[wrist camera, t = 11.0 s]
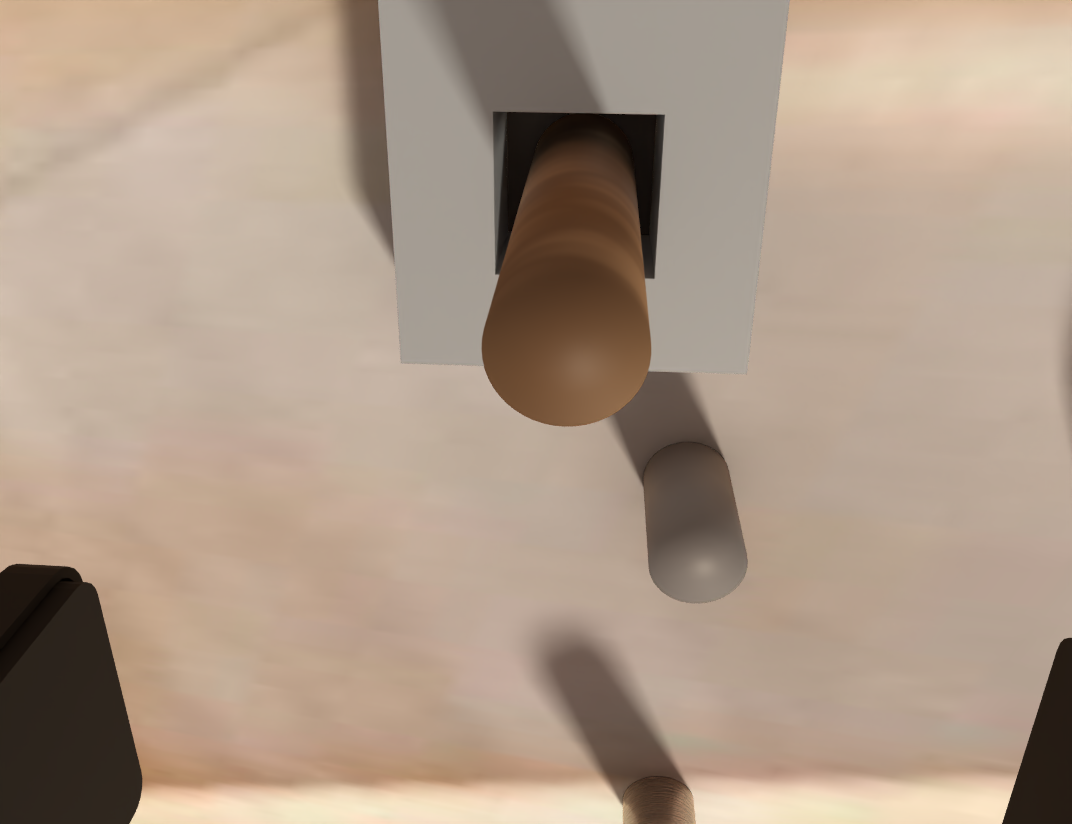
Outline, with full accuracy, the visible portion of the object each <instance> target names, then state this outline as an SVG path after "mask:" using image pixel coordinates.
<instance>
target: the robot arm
mask: <svg viewBox="0 0 1072 824" xmlns="http://www.w3.org/2000/svg"><path fill="white" fill-rule="evenodd" d="M141 791H142V773H141V768H140V764H139V760H138V756H137V752H136V748H135V744H134V740H133V736H132V732H131V728H130V724H129V720H128V715H127V711H126V707H125V703H124V699H123V695H122V691H121V687H120V683H119V679H118V675H117V671H116V667H115V662H114V658H113V654H112V650H111V646H110V642H109V638H108V634H107V630H106V626H105V622H104V618H103V614H102V609H101V605H100V601H99V597H98V594H97V591H96V589H95V587H94V586H93V585H92V584H90V583H87V582H83V581H82V578H81V576H80V574H79V573H78V572H77V571H76V570H75V569H74V568H71V567H65V566H47V565H29V564H15V565H11V566H8V567H7V568H6V569H5V570H3V571H2V572H1V573H0V824H129V823H130V821H131V820H132V818H133V816H134V814H135V812H136V809H137V807H138V804H139V801H140V797H141ZM1002 824H1072V638H1066V639H1064V640H1063V641H1062V642H1061V643H1060V645H1059V647H1058V649H1057V652H1056V655H1055V658H1054V662H1053V665H1052V668H1051V671H1050V674H1049V677H1048V681H1047V684H1046V687H1045V690H1044V693H1043V696H1042V700H1041V703H1040V706H1039V709H1038V712H1037V715H1036V719H1035V722H1034V725H1033V728H1032V731H1031V734H1030V737H1029V741H1028V744H1027V747H1026V750H1025V753H1024V756H1023V760H1022V763H1021V766H1020V769H1019V772H1018V775H1017V779H1016V782H1015V785H1014V788H1013V791H1012V794H1011V797H1010V801H1009V804H1008V807H1007V810H1006V813H1005V816H1004V820H1003V823H1002Z"/></svg>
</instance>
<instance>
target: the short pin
mask: <svg viewBox="0 0 1072 824" xmlns="http://www.w3.org/2000/svg"><path fill="white" fill-rule="evenodd" d="M643 485H644V501H645V516H646V532H647V548H648V564H649V572H650V575H651V578H652V580H653V582H654V583H655V585H656V586H657V587H658V588H659V589H660V590H661V591H662V592H663V593H664V594H666V595H668V596H669V597H671V598H673V599H675V600H678V601H681V602H686V603H707V602H712V601H715V600H718V599H721V598H723V597H725V596H726V595H728V594H730V593H731V592H732V591H734V590H735V589H736V588H737V587H738V586H739V584H740V583H741V582H742V580H743V578H744V576H745V574H746V571H747V564H748V560H747V553H746V549H745V544H744V539H743V535H742V530H741V525H740V521H739V516H738V511H737V507H736V502H735V497H734V493H733V488H732V483H731V479H730V474H729V470H728V466H727V464H726V462H725V461H724V459H723V458H722V456H721V455H720V454H719V453H717V452H716V451H715V450H714V449H712V448H710V447H708V446H706V445H703V444H700V443H695V442H681V443H676V444H672V445H669V446H667V447H665V448H663V449H661V450H660V451H658V452H657V453H656V454H655V455H654V456H653V457H652V458H651V459H650V461H649V462H648V464H647V466H646V468H645V471H644V476H643Z"/></svg>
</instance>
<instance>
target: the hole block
mask: <svg viewBox="0 0 1072 824" xmlns="http://www.w3.org/2000/svg"><path fill="white" fill-rule="evenodd" d="M789 2H790V0H378V9H379V25H380V41H381V57H382V73H383V88H384V104H385V120H386V136H387V152H388V167H389V183H390V199H391V215H392V231H393V247H394V262H395V278H396V294H397V310H398V326H399V341H400V357H401V363H405V364H436V365H467V366H484V364H483V360H482V350H481V347H482V336H483V331H484V327H485V323H486V320H487V316H488V313H489V309H490V306H491V302H492V299H493V295H494V292H495V288H496V285H497V281H498V278H499V274H500V271H501V268H502V264H503V261H504V257H505V254H506V250H507V247H508V243H509V240H510V236H511V233H512V232H508V163H507V112H549V113H606V114H656V131H655V147H654V164H653V181H652V198H651V214H650V231H649V235H641V244H642V254H643V264H644V275H645V285H646V295H647V305H648V316H649V326H650V336H651V360H650V366H649V369H648V371H655V372H687V373H718V374H747V370H748V362H749V353H750V344H751V335H752V326H753V318H754V309H755V300H756V291H757V283H758V274H759V265H760V256H761V248H762V239H763V230H764V221H765V213H766V204H767V195H768V186H769V178H770V169H771V160H772V151H773V143H774V134H775V125H776V116H777V108H778V99H779V90H780V81H781V73H782V64H783V55H784V46H785V37H786V29H787V20H788V11H789Z"/></svg>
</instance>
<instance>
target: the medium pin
mask: <svg viewBox="0 0 1072 824" xmlns="http://www.w3.org/2000/svg"><path fill="white" fill-rule="evenodd" d="M623 824H696V821H695V810H694V800H693V796H692V794H691V792H690V790H689V789H688V788H687V787H686V786H685V785H684V784H682V783H680V782H679V781H677V780H674V779H671V778H667V777H648V778H644V779H641V780H639V781H637V782H635V783H633V784H632V785H631V786H630V787H628V789H627V790H626V791H625V793H624V796H623Z"/></svg>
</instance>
